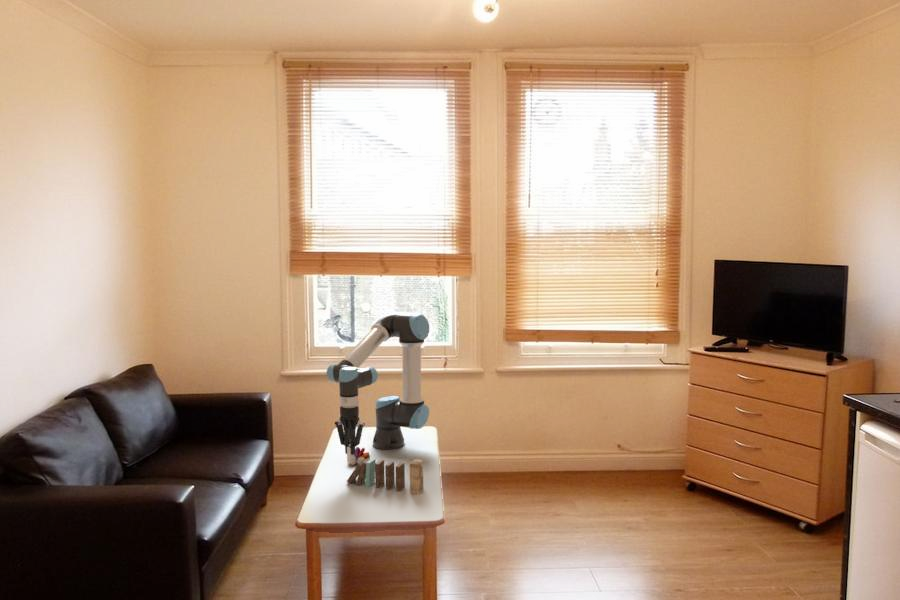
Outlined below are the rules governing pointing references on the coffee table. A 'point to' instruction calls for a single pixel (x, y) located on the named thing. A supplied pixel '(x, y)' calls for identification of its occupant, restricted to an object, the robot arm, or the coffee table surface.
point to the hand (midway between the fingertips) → (350, 461)
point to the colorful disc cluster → (360, 456)
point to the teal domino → (370, 472)
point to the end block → (416, 476)
